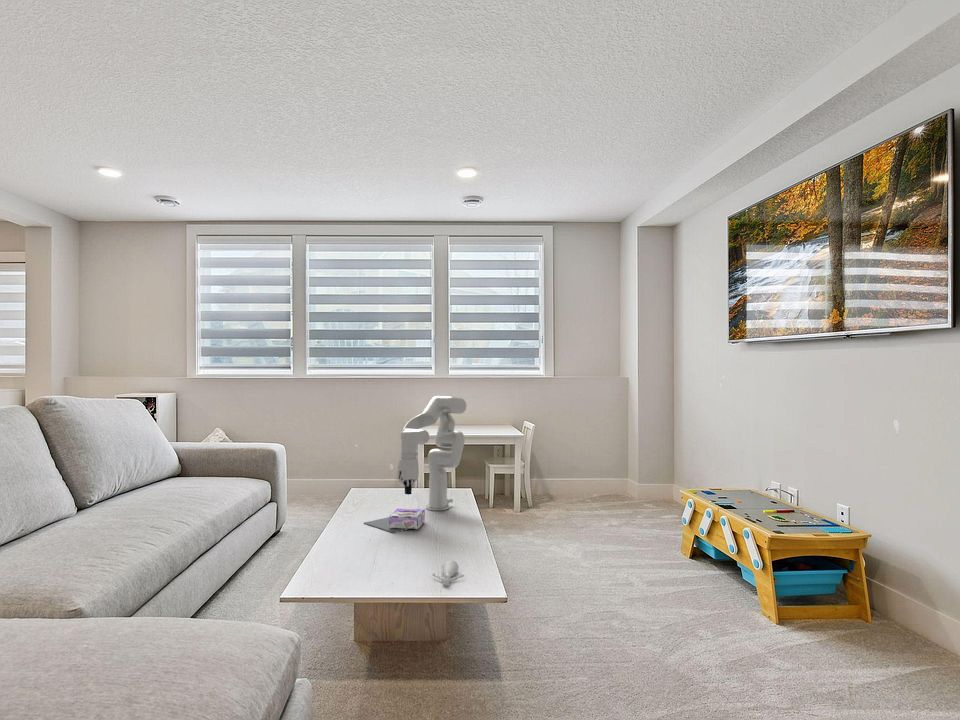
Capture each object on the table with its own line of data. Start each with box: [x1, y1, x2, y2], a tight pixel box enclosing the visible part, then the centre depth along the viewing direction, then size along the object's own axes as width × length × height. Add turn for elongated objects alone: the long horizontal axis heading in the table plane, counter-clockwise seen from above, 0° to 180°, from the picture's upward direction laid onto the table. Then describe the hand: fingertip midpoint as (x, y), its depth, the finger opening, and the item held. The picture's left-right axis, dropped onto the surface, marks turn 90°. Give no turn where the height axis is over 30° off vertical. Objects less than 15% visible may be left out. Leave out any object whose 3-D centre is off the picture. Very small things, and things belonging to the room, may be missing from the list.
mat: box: [363, 516, 406, 534], centre depth 279 cm, size 17×22×1 cm
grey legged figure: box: [431, 559, 465, 587], centre depth 210 cm, size 12×4×18 cm
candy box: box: [388, 508, 426, 530], centre depth 277 cm, size 14×6×16 cm
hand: (408, 493), depth 286 cm, fingers closed
